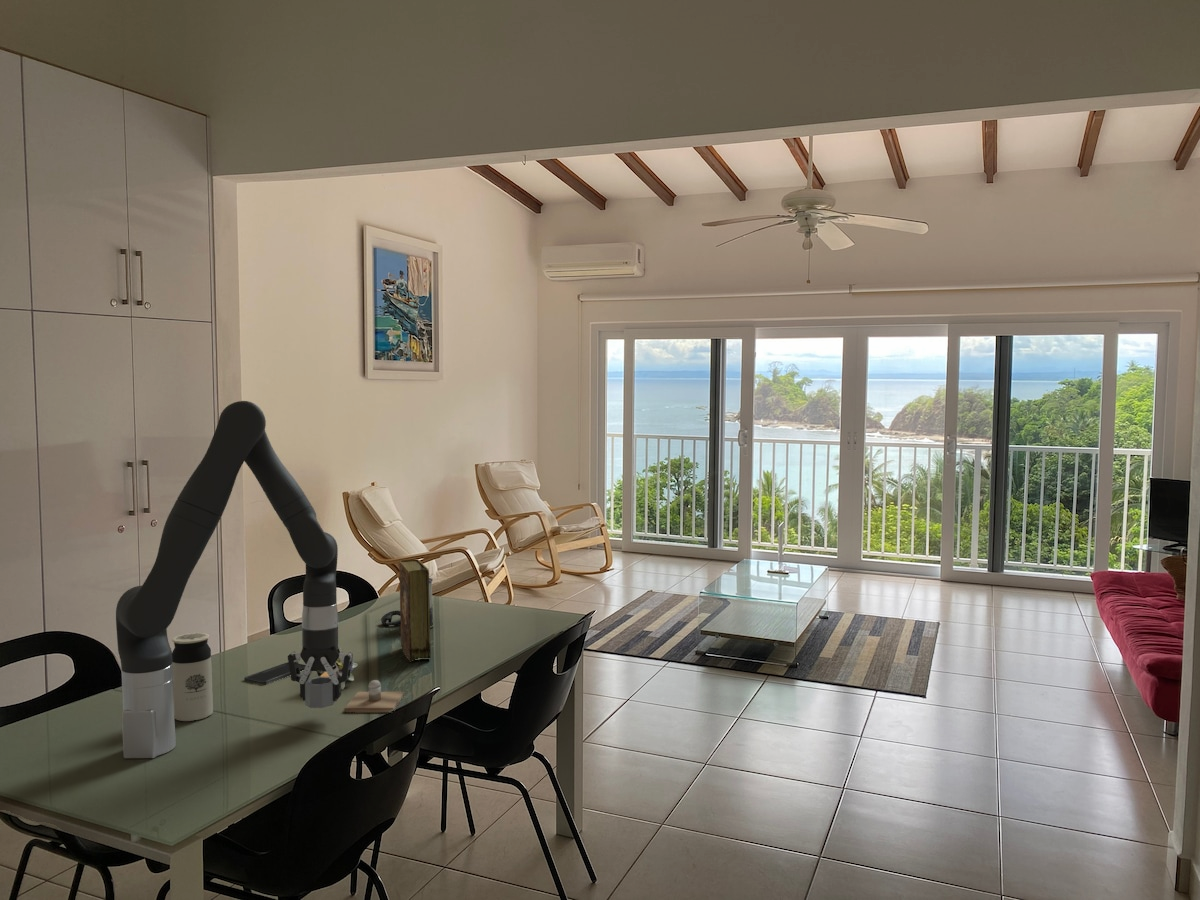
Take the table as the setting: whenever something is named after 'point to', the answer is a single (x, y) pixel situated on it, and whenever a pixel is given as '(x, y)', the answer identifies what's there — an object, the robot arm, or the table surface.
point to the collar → (319, 691)
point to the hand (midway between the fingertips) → (320, 699)
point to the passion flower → (340, 667)
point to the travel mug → (192, 677)
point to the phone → (271, 674)
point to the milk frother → (388, 617)
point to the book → (414, 609)
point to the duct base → (374, 706)
